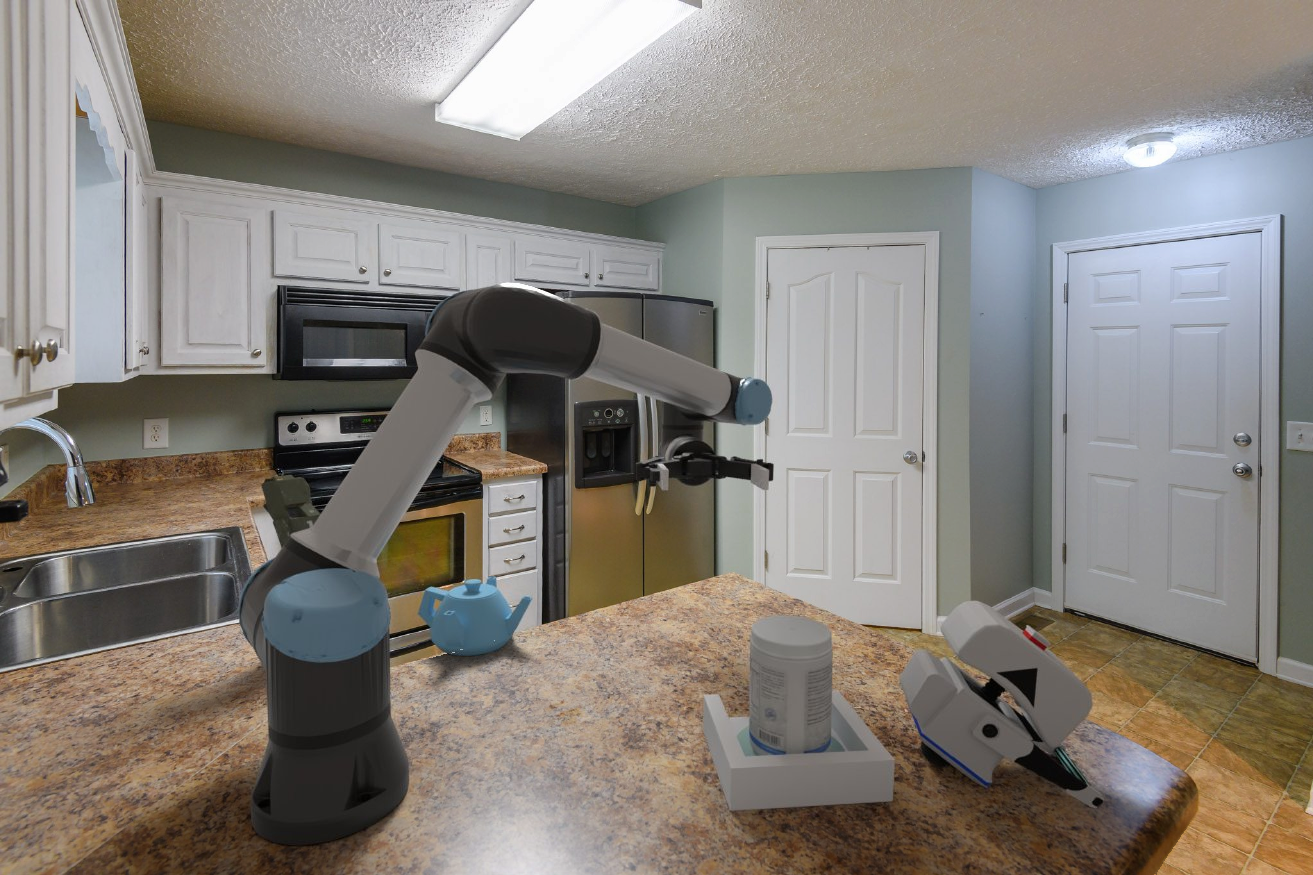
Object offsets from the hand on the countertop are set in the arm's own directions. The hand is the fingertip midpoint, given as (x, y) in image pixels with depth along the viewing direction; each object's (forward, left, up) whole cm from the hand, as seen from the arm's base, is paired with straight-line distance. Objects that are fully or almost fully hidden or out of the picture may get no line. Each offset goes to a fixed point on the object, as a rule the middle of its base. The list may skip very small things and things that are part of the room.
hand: (716, 480), depth 86 cm
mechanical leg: (-64, +25, -32) cm, 76 cm away
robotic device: (+30, -16, -32) cm, 47 cm away
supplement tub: (+7, -13, -30) cm, 34 cm away
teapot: (-36, +26, -32) cm, 55 cm away
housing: (+7, -13, -32) cm, 35 cm away
